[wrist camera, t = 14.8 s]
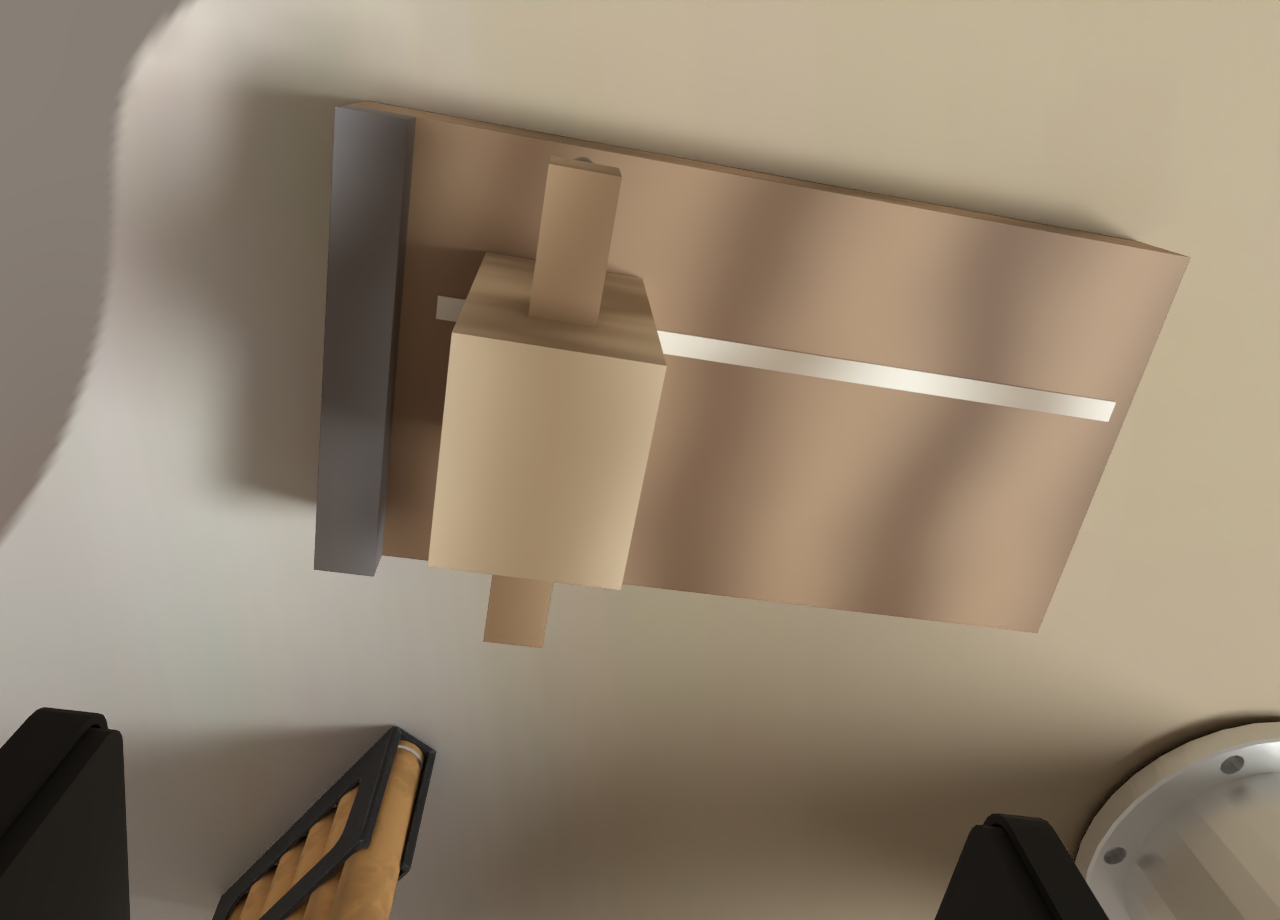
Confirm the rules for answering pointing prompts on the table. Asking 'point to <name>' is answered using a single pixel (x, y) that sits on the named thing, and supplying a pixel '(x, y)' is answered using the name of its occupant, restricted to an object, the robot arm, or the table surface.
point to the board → (754, 369)
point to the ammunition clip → (343, 843)
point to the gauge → (548, 412)
